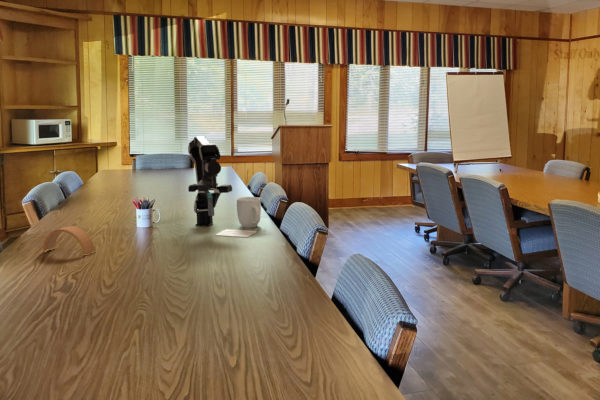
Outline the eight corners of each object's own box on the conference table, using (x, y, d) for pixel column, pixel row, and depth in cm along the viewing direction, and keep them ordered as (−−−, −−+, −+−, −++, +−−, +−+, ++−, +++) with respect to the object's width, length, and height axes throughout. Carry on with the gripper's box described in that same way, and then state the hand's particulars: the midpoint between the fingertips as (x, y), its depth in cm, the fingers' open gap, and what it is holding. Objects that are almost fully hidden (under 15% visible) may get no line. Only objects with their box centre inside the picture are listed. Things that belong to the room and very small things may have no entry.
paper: (215, 235, 235) (215, 234, 235) (225, 229, 246) (225, 229, 246) (247, 237, 231) (247, 236, 231) (256, 231, 242) (256, 230, 242)
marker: (207, 216, 240) (206, 193, 239) (209, 214, 243) (208, 192, 241) (212, 216, 240) (211, 193, 238) (215, 215, 242) (214, 192, 241)
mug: (269, 228, 248) (269, 200, 245) (248, 231, 242) (247, 202, 239) (254, 222, 260) (253, 195, 258) (233, 225, 254) (232, 198, 252)
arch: (54, 249, 217) (51, 224, 216) (95, 252, 211) (93, 227, 209) (43, 252, 212) (40, 227, 210) (85, 256, 206) (82, 231, 204)
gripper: (181, 174, 233) (183, 210, 236) (221, 175, 228) (223, 211, 231) (193, 171, 244) (195, 205, 246) (232, 172, 238) (233, 207, 241)
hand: (211, 207), depth 241 cm, fingers closed on marker, 3 cm apart
